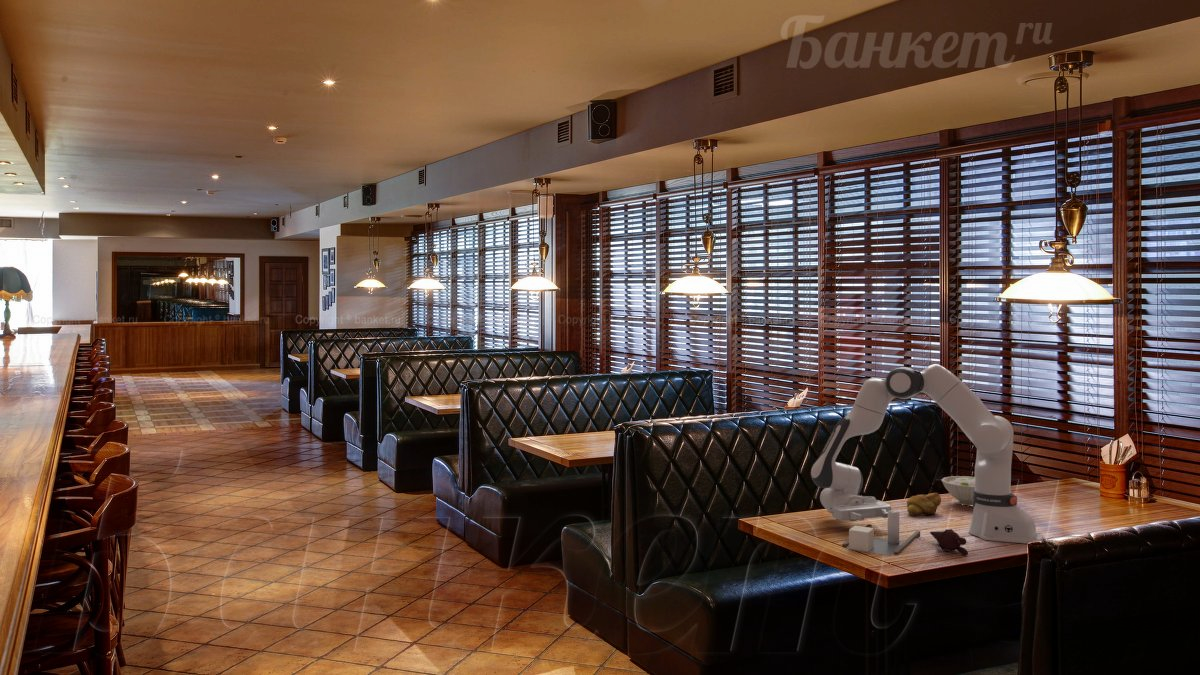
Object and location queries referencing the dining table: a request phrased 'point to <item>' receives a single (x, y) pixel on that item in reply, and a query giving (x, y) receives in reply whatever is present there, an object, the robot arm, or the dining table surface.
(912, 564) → the dining table surface
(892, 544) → the board
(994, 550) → the dining table surface
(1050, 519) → the dining table surface
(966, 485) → the bowl
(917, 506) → the bread roll
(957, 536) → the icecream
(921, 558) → the dining table surface
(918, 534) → the rails
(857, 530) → the block
